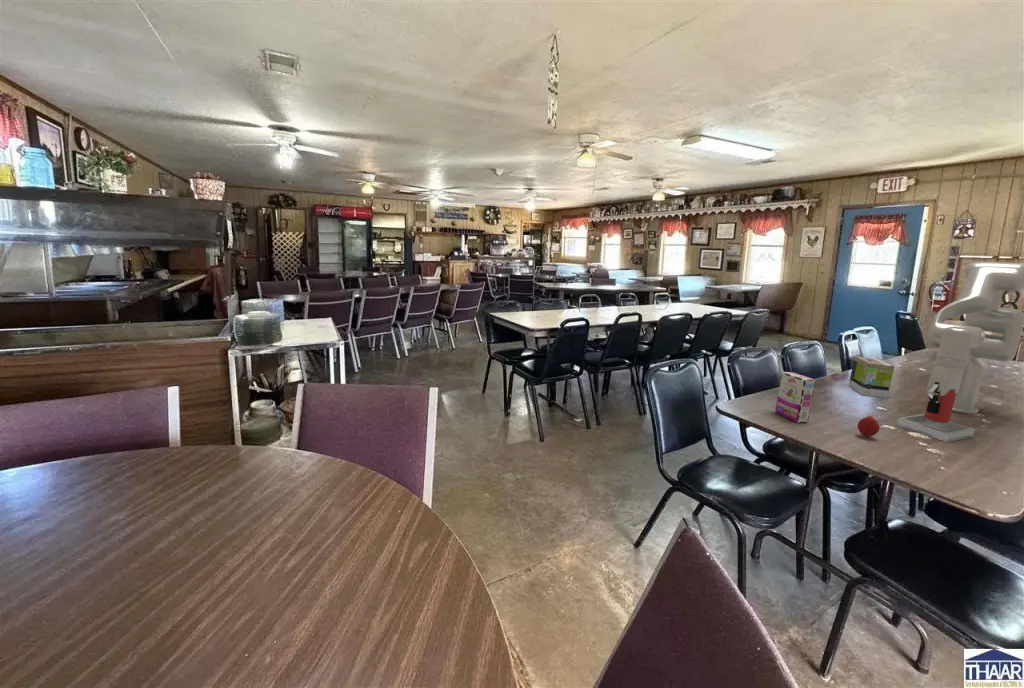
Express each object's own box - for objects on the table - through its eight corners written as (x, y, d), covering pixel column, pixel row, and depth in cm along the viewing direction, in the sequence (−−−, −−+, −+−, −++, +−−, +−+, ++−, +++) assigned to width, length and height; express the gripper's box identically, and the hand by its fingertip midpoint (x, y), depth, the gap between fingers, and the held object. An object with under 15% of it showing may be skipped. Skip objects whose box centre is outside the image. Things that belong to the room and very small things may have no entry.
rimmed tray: (922, 421, 173) (924, 413, 172) (972, 437, 159) (974, 429, 158) (896, 425, 167) (898, 417, 167) (946, 442, 154) (948, 433, 153)
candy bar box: (809, 422, 167) (817, 379, 163) (797, 423, 166) (805, 380, 162) (785, 411, 178) (792, 371, 174) (774, 412, 177) (781, 371, 173)
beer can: (950, 425, 158) (958, 392, 155) (925, 420, 162) (933, 387, 159) (947, 419, 163) (955, 387, 160) (923, 415, 167) (930, 383, 164)
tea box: (888, 398, 199) (895, 365, 196) (861, 395, 201) (868, 363, 198) (872, 388, 213) (879, 357, 210) (847, 386, 216) (853, 355, 212)
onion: (877, 442, 152) (883, 419, 150) (856, 437, 155) (861, 415, 153) (875, 436, 157) (880, 414, 155) (854, 432, 160) (859, 410, 158)
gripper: (952, 358, 164) (940, 406, 168) (922, 361, 158) (910, 410, 162) (979, 364, 157) (966, 413, 161) (948, 367, 151) (936, 418, 155)
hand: (938, 411), depth 162 cm, fingers closed on beer can, 6 cm apart
